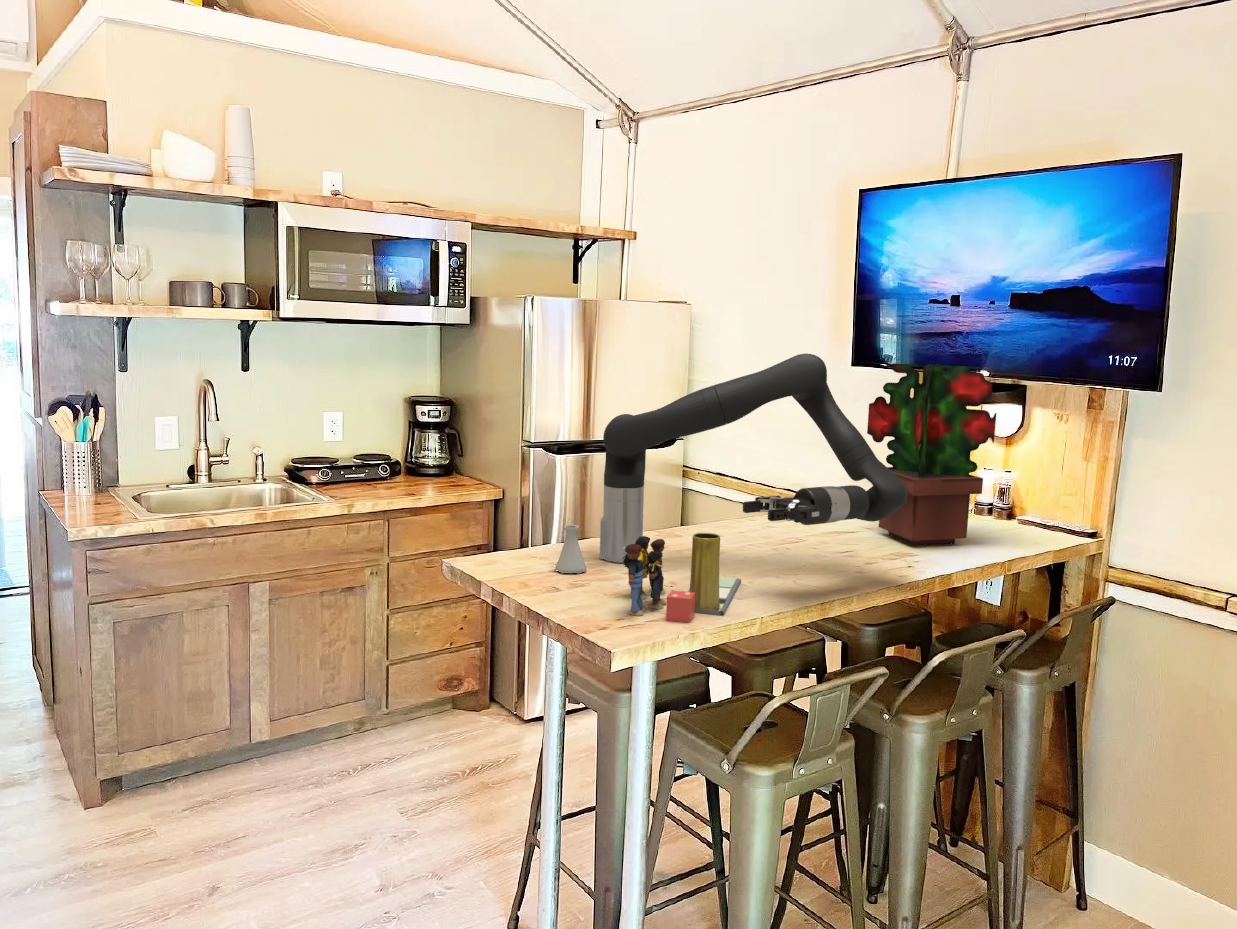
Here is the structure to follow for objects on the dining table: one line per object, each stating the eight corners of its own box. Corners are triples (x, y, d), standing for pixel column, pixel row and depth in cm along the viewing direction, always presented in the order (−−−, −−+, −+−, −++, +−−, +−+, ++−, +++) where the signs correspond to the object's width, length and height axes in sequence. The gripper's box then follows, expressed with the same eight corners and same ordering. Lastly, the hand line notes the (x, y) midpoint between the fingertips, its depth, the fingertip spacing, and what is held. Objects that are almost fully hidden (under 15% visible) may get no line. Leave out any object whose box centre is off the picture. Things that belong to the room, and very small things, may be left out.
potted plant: (933, 529, 262) (946, 362, 255) (985, 548, 241) (1000, 368, 234) (860, 532, 256) (871, 362, 249) (907, 552, 235) (920, 367, 228)
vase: (723, 611, 184) (726, 539, 182) (692, 612, 183) (694, 539, 181) (714, 602, 190) (717, 531, 188) (684, 603, 189) (687, 532, 187)
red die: (666, 620, 178) (666, 596, 178) (671, 613, 183) (671, 590, 182) (690, 622, 177) (690, 598, 176) (694, 615, 181) (695, 592, 181)
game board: (676, 610, 184) (677, 606, 184) (699, 578, 207) (699, 574, 207) (723, 615, 182) (723, 611, 182) (740, 582, 205) (741, 578, 205)
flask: (590, 574, 209) (591, 529, 207) (558, 576, 207) (558, 530, 205) (582, 565, 216) (583, 522, 214) (550, 567, 214) (551, 523, 212)
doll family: (671, 621, 178) (673, 551, 176) (622, 620, 178) (624, 550, 176) (663, 586, 201) (665, 523, 199) (620, 585, 201) (621, 522, 199)
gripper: (800, 481, 202) (736, 486, 195) (845, 492, 189) (778, 499, 182) (799, 516, 203) (735, 523, 196) (843, 530, 191) (777, 537, 183)
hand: (756, 511), depth 189 cm, fingers open, 8 cm apart
